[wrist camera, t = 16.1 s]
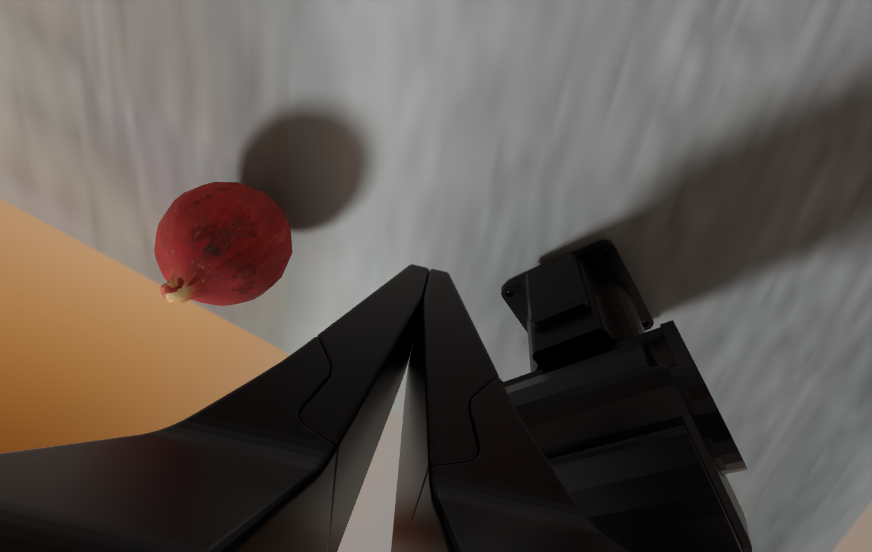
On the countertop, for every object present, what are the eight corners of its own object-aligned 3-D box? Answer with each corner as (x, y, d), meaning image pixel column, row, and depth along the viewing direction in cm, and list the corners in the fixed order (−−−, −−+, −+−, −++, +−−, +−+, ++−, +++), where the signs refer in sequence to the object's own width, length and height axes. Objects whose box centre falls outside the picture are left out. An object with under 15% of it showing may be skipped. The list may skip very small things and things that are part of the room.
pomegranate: (248, 135, 22) (140, 204, 15) (334, 216, 24) (272, 307, 17) (192, 202, 24) (79, 285, 18) (274, 270, 26) (200, 367, 20)
